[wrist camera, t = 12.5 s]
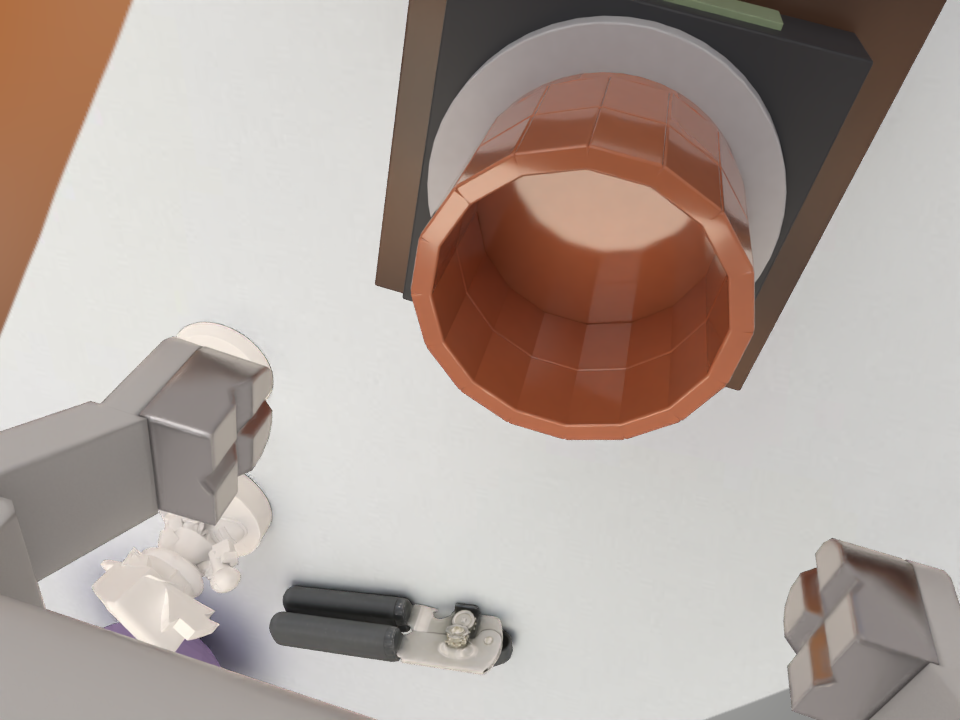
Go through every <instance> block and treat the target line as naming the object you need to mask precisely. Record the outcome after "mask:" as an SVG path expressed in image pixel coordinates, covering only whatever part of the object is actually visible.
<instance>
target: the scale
mask: <svg viewBox="0 0 960 720" xmlns="http://www.w3.org/2000/svg"><path fill="white" fill-rule="evenodd" d="M872 65H873V60H872V59H871V57H870V56H869V54H868V53H867V51H866V50H865V48H864V47H863V45H862V43H861V42H860V40H859V39H858V37H857V36H856V34H855V33H853V32H849V31H845V30H841V29H837V28H833V27H829V26H825V25H822V24H818V23H814V22H810V21H806V20H802V19H798V18H794V17H790V16H787V15H783V14H780V13H779V11H777V10H773V9H769V8H766V7H762V6H758V5H754V4H750V3H746V2H742V1H738V0H447V1H446V8H445V15H444V22H443V28H442V35H441V42H440V48H439V55H438V62H437V69H436V75H435V82H434V89H433V96H432V102H431V109H430V116H429V122H428V129H427V136H426V143H425V149H424V156H423V163H422V169H421V176H420V183H419V190H418V196H417V203H416V210H415V217H414V223H413V230H412V237H411V243H410V250H409V257H408V264H407V270H406V277H405V284H404V290H403V299H406V300H410V301H413V300H412V296H411V284H412V278H413V271H414V265H415V259H416V252H417V246H418V239H419V237H420V234H421V232H422V231H423V229H424V228H425V226H426V224H427V223H428V221H429V220H430V218H431V216H432V215H433V213H434V212H435V210H436V208H437V207H438V205H439V204H440V202H441V201H442V199H443V197H444V196H445V194H446V193H447V191H448V189H449V188H450V186H451V185H452V183H453V182H454V180H455V178H456V177H457V175H458V174H459V172H460V170H461V169H462V167H463V166H464V164H465V162H466V161H467V159H468V158H469V156H470V155H471V153H472V152H473V151H474V149H475V148H476V146H477V145H478V143H479V142H480V141H481V139H482V138H483V136H484V134H485V133H486V131H487V130H488V129H489V127H490V126H491V125H492V123H493V122H494V120H495V119H496V118H497V117H498V116H499V115H500V114H501V113H502V112H503V111H505V110H506V109H507V108H508V107H509V106H510V105H511V104H512V103H513V102H515V101H516V100H518V99H519V98H521V97H522V96H523V95H525V94H526V93H528V92H530V91H532V90H534V89H536V88H537V87H539V86H541V85H543V84H546V83H549V82H551V81H554V80H557V79H560V78H563V77H567V76H572V75H577V74H582V73H595V72H611V73H624V74H629V75H634V76H639V77H643V78H646V79H649V80H652V81H655V82H658V83H661V84H663V85H665V86H667V87H669V88H671V89H673V90H675V91H677V92H679V93H680V94H682V95H683V96H684V97H686V98H687V99H689V100H690V101H692V102H693V103H695V104H696V105H697V106H698V107H699V108H700V109H701V110H702V111H703V112H704V113H706V114H707V115H708V116H709V117H710V118H711V120H712V121H713V122H714V123H715V125H716V126H717V127H718V128H719V130H720V131H721V132H722V134H723V136H724V137H725V139H726V141H727V142H728V144H729V146H730V147H731V150H732V152H733V155H734V157H735V160H736V162H737V164H738V168H739V172H740V174H741V176H742V179H743V183H744V187H745V195H746V204H747V212H748V221H749V229H750V238H751V246H752V255H753V263H754V272H755V300H756V298H757V296H758V294H759V292H760V290H761V288H762V286H763V284H764V282H765V280H766V278H767V276H768V274H769V272H770V270H771V268H772V266H773V264H774V262H775V260H776V258H777V256H778V254H779V252H780V250H781V248H782V246H783V244H784V242H785V240H786V238H787V236H788V234H789V232H790V230H791V228H792V226H793V224H794V222H795V220H796V218H797V216H798V214H799V212H800V210H801V208H802V206H803V204H804V202H805V200H806V198H807V196H808V194H809V192H810V190H811V188H812V186H813V184H814V182H815V180H816V178H817V176H818V173H819V171H820V169H821V167H822V165H823V163H824V161H825V159H826V157H827V155H828V153H829V151H830V149H831V147H832V145H833V143H834V141H835V139H836V137H837V135H838V133H839V131H840V129H841V127H842V125H843V123H844V121H845V119H846V117H847V115H848V113H849V111H850V109H851V107H852V105H853V103H854V101H855V99H856V97H857V95H858V93H859V91H860V89H861V87H862V85H863V83H864V81H865V79H866V77H867V75H868V73H869V71H870V69H871V67H872Z"/></svg>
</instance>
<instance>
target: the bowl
mask: <svg viewBox="0 0 960 720" xmlns="http://www.w3.org/2000/svg"><path fill="white" fill-rule="evenodd" d="M411 296H412V300H413V303H414V307H415V310H416V314H417V317H418V321H419V324H420V328H421V331H422V335H423V338H424V342H425V345H427V348H428V350H429V351H430V352H431V354H432V355H433V356H434V358H435V359H436V360H437V361H438V363H439V364H440V365H441V367H442V368H443V369H444V371H445V372H446V373H447V374H448V376H449V377H450V378H451V380H452V381H453V382H454V384H455V385H456V386H457V387H458V389H460V390H461V391H462V392H463V393H464V394H466V395H467V396H469V397H470V398H472V399H473V400H475V401H476V402H478V403H479V404H481V405H482V406H484V407H485V408H487V409H488V410H490V411H491V412H493V413H494V414H496V415H497V416H499V417H500V418H502V419H503V420H505V421H506V422H509V423H511V424H514V425H517V426H521V427H524V428H527V429H531V430H534V431H537V432H541V433H544V434H547V435H551V436H554V437H557V438H561V439H566V440H623V439H624V438H625V439H629V438H632V437H635V436H638V435H641V434H644V433H647V432H650V431H653V430H656V429H659V428H662V427H665V426H668V425H672V424H675V423H678V422H680V421H681V420H684V419H685V418H686V417H687V416H689V415H690V414H691V413H692V412H694V411H695V410H696V409H697V408H699V407H700V406H701V405H702V404H704V403H705V402H706V401H707V400H709V399H710V398H711V397H713V396H714V395H715V394H716V393H718V392H719V391H720V390H721V389H723V388H724V387H725V386H726V384H727V383H728V382H729V381H730V379H731V377H732V375H733V373H734V371H735V369H736V367H737V365H738V363H739V361H740V359H741V357H742V355H743V353H744V351H745V350H746V348H747V346H748V344H749V342H750V340H751V338H752V336H753V331H754V329H755V272H754V263H753V255H752V246H751V238H750V229H749V221H748V212H747V204H746V195H745V187H744V183H743V179H742V176H741V174H740V172H739V168H738V164H737V162H736V160H735V157H734V155H733V152H732V150H731V147H730V146H729V144H728V142H727V141H726V139H725V137H724V136H723V134H722V132H721V131H720V130H719V128H718V127H717V126H716V125H715V123H714V122H713V121H712V120H711V118H710V117H709V116H708V115H707V114H706V113H704V112H703V111H702V110H701V109H700V108H699V107H698V106H697V105H696V104H695V103H693V102H692V101H690V100H689V99H687V98H686V97H684V96H683V95H682V94H680V93H679V92H677V91H675V90H673V89H671V88H669V87H667V86H665V85H663V84H661V83H658V82H655V81H652V80H649V79H646V78H643V77H639V76H634V75H629V74H624V73H611V72H595V73H582V74H577V75H572V76H567V77H563V78H560V79H557V80H554V81H551V82H549V83H546V84H543V85H541V86H539V87H537V88H536V89H534V90H532V91H530V92H528V93H526V94H525V95H523V96H522V97H521V98H519V99H518V100H516V101H515V102H513V103H512V104H511V105H510V106H509V107H508V108H507V109H506V110H505V111H503V112H502V113H501V114H500V115H499V116H498V117H497V118H496V119H495V120H494V122H493V123H492V125H491V126H490V127H489V129H488V130H487V131H486V133H485V134H484V136H483V138H482V139H481V141H480V142H479V143H478V145H477V146H476V148H475V149H474V151H473V152H472V153H471V155H470V156H469V158H468V159H467V161H466V162H465V164H464V166H463V167H462V169H461V170H460V172H459V174H458V175H457V177H456V178H455V180H454V182H453V183H452V185H451V186H450V188H449V189H448V191H447V193H446V194H445V196H444V197H443V199H442V201H441V202H440V204H439V205H438V207H437V208H436V210H435V212H434V213H433V215H432V216H431V218H430V220H429V221H428V223H427V224H426V226H425V228H424V229H423V231H422V232H421V234H420V237H419V239H418V246H417V252H416V259H415V265H414V271H413V278H412V284H411Z"/></svg>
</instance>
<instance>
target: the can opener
mask: <svg viewBox="0 0 960 720" xmlns="http://www.w3.org/2000/svg"><path fill="white" fill-rule="evenodd" d="M283 605H284V608H285V610H286V612H278V613H276V614H275V615H274V616H273V618H272V619H271V621H270V626H269V629H270V633H271V635H272V637H273V639H274V640H275V641H276V643H278V644H280V645H283V646H290V647H297V648H303V649H310V650H316V651H323V652H330V653H336V654H343V655H349V656H356V657H363V658H370V659H377V660H383V661H390V662H395V661H399V660H400V658H401V662H402V663H407V664H413V665H421V666H427V667H434V668H441V669H447V670H455V671H461V672H467V673H474V674H481V675H483V674H486V673H487V672H488V671H489V670H490V669H491V668H492V667H494V666H497V665H500V664H502V663H505V662H507V661H508V660H509V659H510V657H511V654H512V652H513V647H512V639H511V636H510V635H509V634H508V633H507V632H506V631H503V630H502V625H501V621H500V619H499V618H497V617H495V616H488V615H481V614H480V610H479V608H477V606H475V605H465V604H457V603H456V604H455V611H454V612H453V613H452V615H451V616H449V617H445V618H441V619H437V618H435V617H434V613H435V612H437V609H435V608H431V607H427V606H424V605H418V604H415V605H414V606H412V604H411V603H410V601H409V600H408V599H405V598H402V597H393V596H383V595H374V594H365V593H356V592H347V591H337V590H328V589H319V588H309V587H300V586H293V587H290V588H289V589H287V591H286V592H285V594H284V596H283ZM410 628H411V629H412V632H411V633H409V634H406V635H403V634H402V633H401V632H407V631H409V630H410Z"/></svg>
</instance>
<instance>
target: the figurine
mask: <svg viewBox="0 0 960 720" xmlns="http://www.w3.org/2000/svg"><path fill="white" fill-rule="evenodd" d="M176 337H177V338H180V339H183V340H186V341H189V342H192V343H194V344H197V345H200V346H203V347H205V346H206V347H209V348H212V349H215V350H218V351H221V352H224V353H227V354H230V355H233V356H236V357H239V358H242V359H245V360H248V361H251V362H254V363H258V364H261V365H264V366H267V367H268V368H269V369H271V368H270V366H269V364H268V362H267V360H266V358H265V356H264V355H263V354H262V352H261V351H260V350H259V349H258V348H257V347H256V346H255V345H254V344H253V343H252V342H251V341H250V340H249V339H247V338H246V337H245V336H244V335H242V334H240V333H239V332H237V331H235V330H233V329H231V328H228V327H226V326H223V325H220V324H215V323H207V322H201V323H194V324H191V325H189V326H186V327H185V328H183V329H182V330H181V331H180V332H179V333H178V335H177V336H176ZM272 381H273V375H272ZM271 391H272V390H271ZM271 391H270V393H271ZM270 393H269V394H268V396H267V397H266V398H265V400H266V399H267V398H268V397H269V395H270Z"/></svg>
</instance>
